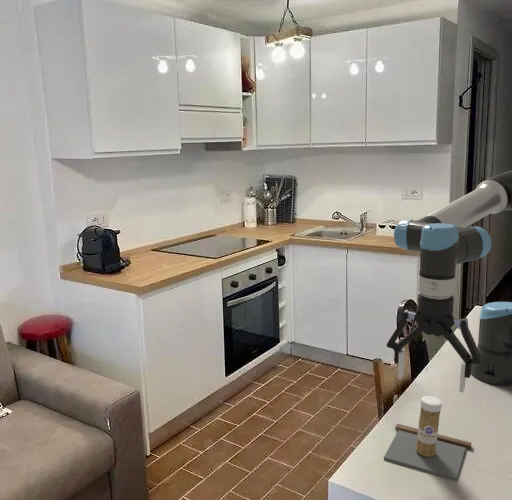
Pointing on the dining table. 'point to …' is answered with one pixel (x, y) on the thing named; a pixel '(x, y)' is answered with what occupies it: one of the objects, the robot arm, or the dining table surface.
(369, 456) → the dining table surface
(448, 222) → the robot arm
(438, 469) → the mat
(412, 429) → the brown wooden strip
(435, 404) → the sprinkles bottle
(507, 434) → the dining table surface
